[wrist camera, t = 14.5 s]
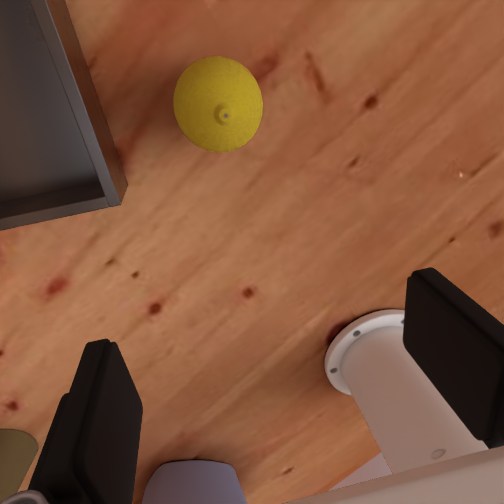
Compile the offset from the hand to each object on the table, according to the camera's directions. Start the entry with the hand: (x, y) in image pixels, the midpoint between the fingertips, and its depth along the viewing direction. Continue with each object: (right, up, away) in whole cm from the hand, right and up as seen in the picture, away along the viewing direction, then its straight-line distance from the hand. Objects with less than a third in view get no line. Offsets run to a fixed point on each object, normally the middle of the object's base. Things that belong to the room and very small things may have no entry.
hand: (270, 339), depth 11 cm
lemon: (-4, +14, +15) cm, 21 cm away
